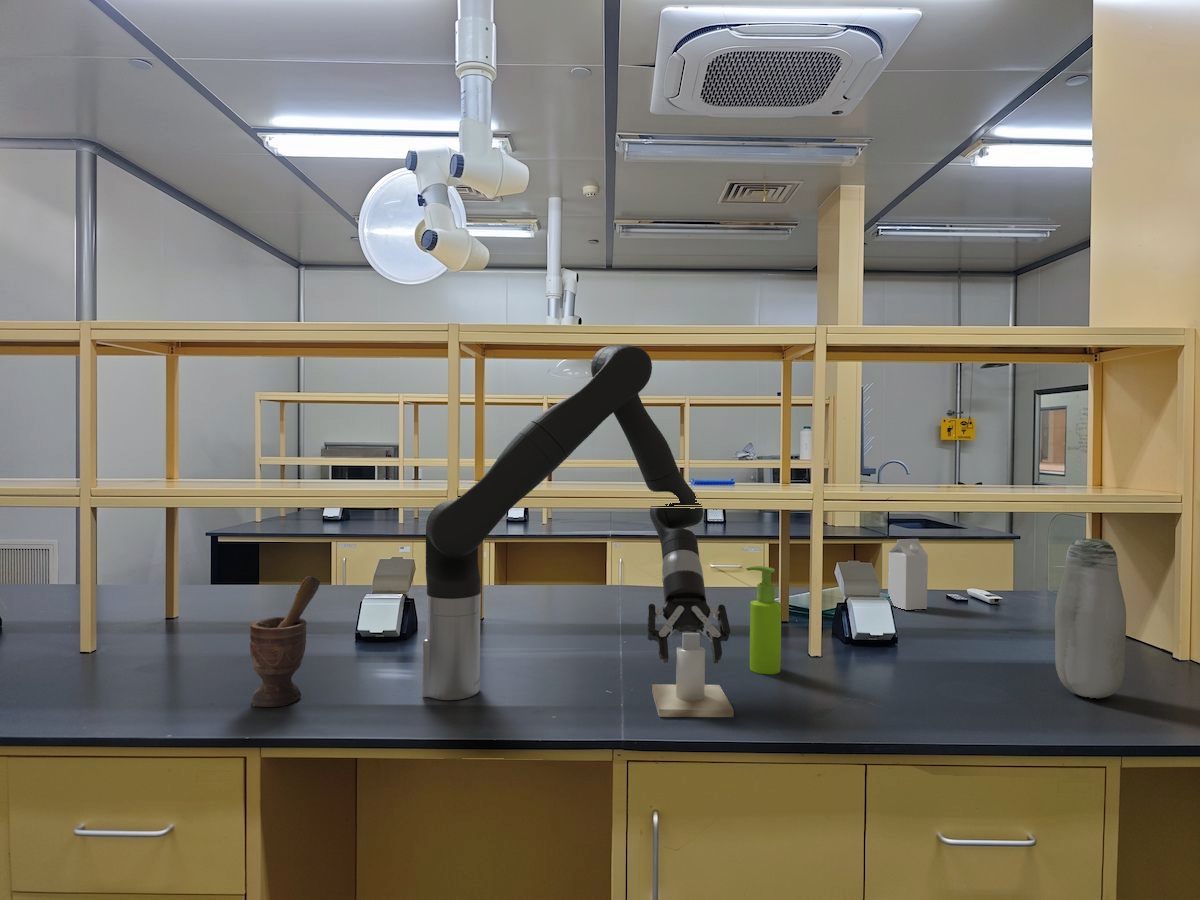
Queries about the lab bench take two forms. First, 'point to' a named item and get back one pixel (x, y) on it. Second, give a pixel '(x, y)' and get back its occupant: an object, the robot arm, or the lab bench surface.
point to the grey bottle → (1090, 621)
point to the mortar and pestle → (281, 650)
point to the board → (691, 703)
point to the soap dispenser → (765, 626)
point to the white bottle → (690, 668)
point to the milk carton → (908, 575)
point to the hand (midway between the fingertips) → (691, 660)
